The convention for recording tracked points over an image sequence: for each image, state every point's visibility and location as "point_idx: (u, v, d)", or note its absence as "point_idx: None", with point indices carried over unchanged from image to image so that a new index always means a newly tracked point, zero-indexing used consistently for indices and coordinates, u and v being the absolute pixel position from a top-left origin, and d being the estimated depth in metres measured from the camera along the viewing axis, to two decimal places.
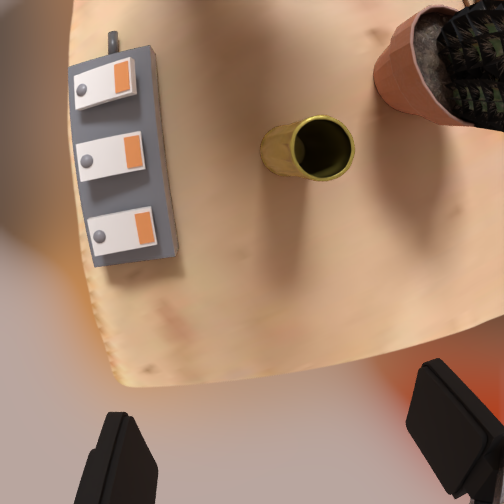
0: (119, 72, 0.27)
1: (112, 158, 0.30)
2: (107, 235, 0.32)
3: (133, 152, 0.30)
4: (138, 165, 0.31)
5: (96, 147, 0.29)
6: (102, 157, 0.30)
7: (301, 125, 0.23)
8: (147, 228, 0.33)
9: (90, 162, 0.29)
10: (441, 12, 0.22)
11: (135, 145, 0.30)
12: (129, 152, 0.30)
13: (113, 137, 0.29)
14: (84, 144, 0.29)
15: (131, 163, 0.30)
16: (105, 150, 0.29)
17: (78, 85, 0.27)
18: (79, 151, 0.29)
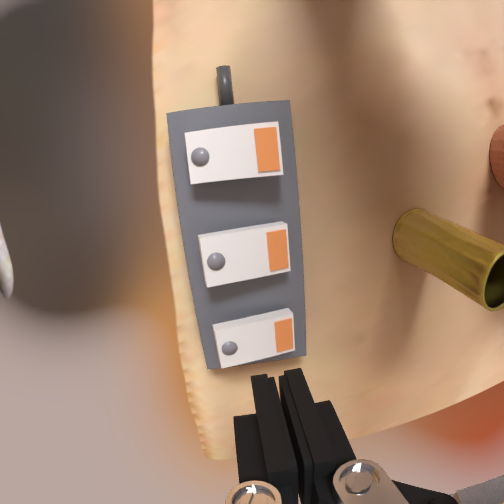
0: (264, 141, 0.23)
1: (251, 258, 0.26)
2: (239, 346, 0.28)
3: (278, 251, 0.26)
4: (283, 266, 0.27)
5: (230, 243, 0.25)
6: (237, 256, 0.25)
7: (495, 261, 0.19)
8: (287, 336, 0.29)
9: (221, 262, 0.25)
10: None
11: (281, 242, 0.26)
12: (274, 252, 0.26)
13: (252, 231, 0.25)
14: (212, 239, 0.25)
15: (275, 265, 0.26)
16: (242, 247, 0.25)
17: (194, 148, 0.23)
18: (205, 248, 0.25)
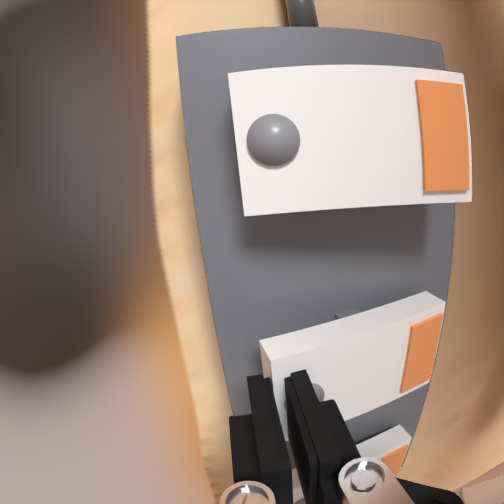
0: (440, 116, 0.07)
1: (374, 379, 0.11)
2: None
3: (423, 357, 0.11)
4: (421, 378, 0.11)
5: (339, 361, 0.10)
6: (350, 382, 0.10)
7: None
8: (395, 466, 0.13)
9: None
10: None
11: (431, 341, 0.11)
12: (415, 360, 0.11)
13: (388, 328, 0.10)
14: (301, 358, 0.09)
15: (412, 381, 0.11)
16: (361, 364, 0.10)
17: (255, 117, 0.08)
18: (283, 379, 0.09)
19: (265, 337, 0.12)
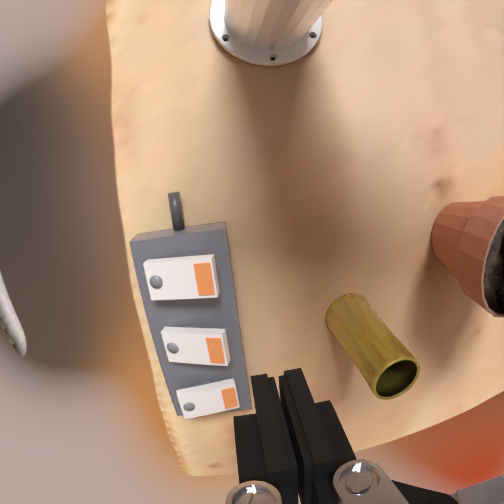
0: (201, 274, 0.31)
1: (197, 351, 0.33)
2: (196, 405, 0.35)
3: (215, 352, 0.33)
4: (221, 361, 0.33)
5: (180, 339, 0.33)
6: (187, 348, 0.34)
7: (385, 369, 0.26)
8: (232, 398, 0.36)
9: (176, 349, 0.34)
10: None
11: (217, 346, 0.33)
12: (212, 351, 0.33)
13: (196, 335, 0.33)
14: (168, 334, 0.33)
15: (214, 360, 0.33)
16: (189, 343, 0.33)
17: (151, 276, 0.31)
18: (165, 338, 0.34)
19: None
